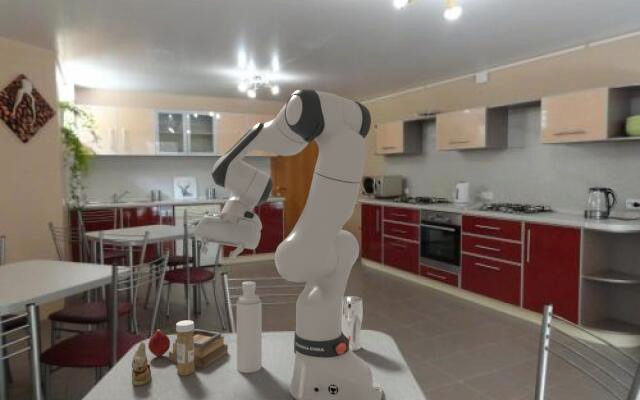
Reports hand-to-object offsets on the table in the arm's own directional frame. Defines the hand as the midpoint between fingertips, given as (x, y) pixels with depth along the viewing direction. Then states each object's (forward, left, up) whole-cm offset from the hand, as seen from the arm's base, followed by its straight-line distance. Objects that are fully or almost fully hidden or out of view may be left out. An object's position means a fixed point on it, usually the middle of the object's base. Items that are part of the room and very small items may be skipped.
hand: (217, 255), depth 129 cm
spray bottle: (-14, +5, -29) cm, 33 cm away
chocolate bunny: (+8, +22, -29) cm, 37 cm away
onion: (+14, +9, -29) cm, 33 cm away
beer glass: (-35, -19, -29) cm, 49 cm away
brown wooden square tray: (+3, +5, -29) cm, 29 cm away
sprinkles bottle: (0, +14, -29) cm, 32 cm away
